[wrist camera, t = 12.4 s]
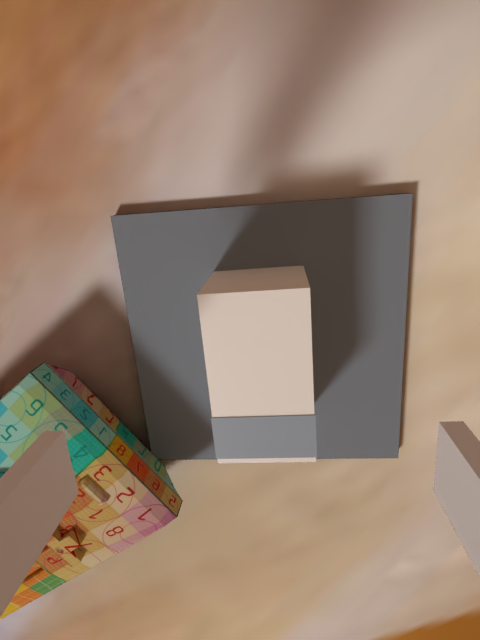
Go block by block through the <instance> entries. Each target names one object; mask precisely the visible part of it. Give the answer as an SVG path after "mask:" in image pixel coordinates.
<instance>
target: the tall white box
mask: <svg viewBox="0 0 480 640" xmlns="http://www.w3.org/2000/svg"><path fill="white" fill-rule="evenodd" d="M197 300H198V308H199V317H200V325H201V333H202V341H203V349H204V357H205V365H206V373H207V381H208V389H209V397H210V405H211V413H212V416H211V423H212V430H213V438H214V446H215V454H216V459H217V461H218V463H271V462H316V457H317V442H316V415H315V413H314V386H313V357H312V328H311V298H310V286H309V282H308V279H307V276H306V272H305V269H304V266H303V265H302V266H287V267H272V268H258V269H243V270H229V271H214V272H213V273H212V274H211V276H210V277H209V279H208V280H207V281H206V283H205V284H204V286H203V287H202V288H201V290H200V291H199V292H198V294H197Z"/></svg>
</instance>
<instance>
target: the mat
mask: <svg viewBox="0 0 480 640" xmlns="http://www.w3.org/2000/svg"><path fill="white" fill-rule="evenodd" d="M412 199H413V193H405V194H392V195H378V196H365V197H352V198H338V199H325V200H312V201H298V202H285V203H272V204H258V205H245V206H232V207H218V208H205V209H191V210H178V211H165V212H151V213H138V214H125V215H114V216H111V221H112V227H113V232H114V238H115V244H116V250H117V256H118V262H119V267H120V273H121V279H122V285H123V291H124V297H125V302H126V308H127V314H128V320H129V326H130V332H131V337H132V343H133V349H134V355H135V361H136V367H137V372H138V378H139V384H140V390H141V396H142V402H143V407H144V413H145V419H146V425H147V431H148V437H149V442H150V448H151V453H152V454H153V455H154V456H155V457H156V458H157V459H158V460H187V459H216V454H215V446H214V438H213V430H212V423H211V416H212V413H211V405H210V397H209V389H208V381H207V373H206V365H205V357H204V349H203V341H202V333H201V325H200V317H199V308H198V300H197V294H198V292H199V291H200V290H201V288H202V287H203V286H204V284H205V283H206V281H207V280H208V279H209V277H210V276H211V274H212V273H213V272H214V271H229V270H243V269H258V268H272V267H287V266H302V265H303V266H304V269H305V272H306V276H307V279H308V282H309V286H310V298H311V328H312V357H313V386H314V413H315V415H316V442H317V457H316V459H340V458H398V453H399V435H400V417H401V398H402V380H403V362H404V344H405V326H406V308H407V290H408V271H409V253H410V235H411V217H412Z"/></svg>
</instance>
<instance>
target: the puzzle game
mask: <svg viewBox="0 0 480 640" xmlns="http://www.w3.org/2000/svg"><path fill="white" fill-rule="evenodd" d="M44 431H64V434H65V438H66V442H67V447H68V451H69V455H70V459H71V463H72V467H73V471H74V475H75V479H76V483H77V488H78V492H79V493H78V495H77V496H76V498H75V499H74V501H73V503H72V504H71V506H70V507H69V509H68V511H67V512H66V514H65V515H64V517H63V519H62V520H61V522H60V523H59V525H58V527H57V528H56V530H55V531H54V533H53V535H52V536H51V538H50V539H49V541H48V542H47V544H46V546H45V547H44V549H43V550H42V552H41V554H40V555H39V557H38V558H37V560H36V562H35V563H34V565H33V566H32V568H31V570H30V571H29V573H28V574H27V576H26V578H25V579H24V581H23V582H22V584H21V586H20V587H19V589H18V590H17V592H16V593H15V595H14V597H13V598H12V600H11V601H10V603H9V605H8V606H7V608H6V609H5V611H4V613H3V614H2V616H1V617H0V619H2V618H4V617H6V616H7V615H9V614H11V613H12V612H14V611H16V610H18V609H19V608H21V607H23V606H24V605H26V604H28V603H30V602H31V601H33V600H35V599H37V598H39V597H40V596H42V595H44V594H46V593H47V592H49V591H51V590H53V589H54V588H56V587H58V586H60V585H62V584H63V583H65V582H67V581H69V580H70V579H72V578H74V577H76V576H77V575H79V574H81V573H83V572H84V571H86V570H88V569H90V568H92V567H93V566H95V565H97V564H99V563H100V562H102V561H104V560H106V559H107V558H109V557H111V556H113V555H114V554H116V553H118V552H120V551H122V550H123V549H125V548H127V547H129V546H130V545H132V544H134V543H136V542H137V541H139V540H141V539H143V538H145V537H146V536H148V535H150V534H152V533H153V532H155V531H157V530H159V529H160V528H162V527H164V526H165V525H167V524H168V523H169V522H171V521H172V520H173V519H175V518H176V517H177V516H178V513H179V510H180V507H181V504H182V499H181V498H180V496H179V495H178V493H177V491H176V490H175V488H174V486H173V484H172V482H171V479H170V477H169V475H168V473H167V471H166V469H165V466H164V465H163V464H162V463H161V462H160V461H159V460H158V459H157V458H156V457H155V456H154V455H153V454H152V453H151V452H150V451H149V450H148V449H147V448H146V447H145V446H144V445H143V444H142V443H141V442H140V441H139V440H138V439H137V438H136V437H135V436H134V435H133V434H132V433H131V432H130V431H129V430H128V429H127V428H126V427H125V426H124V425H123V424H122V423H121V422H120V421H119V420H118V419H117V418H116V417H115V416H114V415H113V414H112V413H111V411H110V410H109V409H108V408H107V407H106V406H105V405H104V404H103V403H102V402H101V401H100V400H99V399H98V398H97V397H96V396H95V395H94V394H93V393H92V392H91V391H90V390H89V389H88V388H87V387H86V386H85V385H84V384H83V383H82V382H81V381H80V380H79V379H78V378H77V377H76V376H75V375H74V374H73V373H72V372H70V371H67V370H64V369H61V368H58V367H55V366H52V365H50V364H47V363H45V362H43V363H42V364H41V365H39V366H38V367H37V368H35V369H34V370H33V371H31V372H30V373H29V374H28V375H27V376H26V377H24V378H23V379H22V380H21V381H20V382H19V383H18V384H16V385H15V386H14V387H13V388H12V389H11V390H10V391H8V392H7V393H6V394H5V395H4V396H3V397H2V398H0V478H1V477H2V476H3V475H4V474H5V473H6V472H7V470H8V469H9V468H10V467H11V466H12V465H13V464H14V463H15V462H16V461H17V460H18V459H19V457H20V456H21V455H22V454H23V453H24V452H25V451H26V450H27V449H28V448H29V447H30V446H31V445H32V443H33V442H34V441H35V440H36V439H37V438H38V437H39V436H40V435H41V434H42V433H43V432H44Z"/></svg>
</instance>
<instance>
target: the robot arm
mask: <svg viewBox="0 0 480 640" xmlns="http://www.w3.org/2000/svg"><path fill="white" fill-rule="evenodd" d="M433 490H434V492H435V494H436V496H437V498H438V500H439V501H440V503H441V505H442V507H443V509H444V511H445V513H446V515H447V517H448V518H449V520H450V522H451V524H452V526H453V528H454V530H455V532H456V534H457V536H458V537H459V539H460V541H461V543H462V545H463V547H464V549H465V551H466V553H467V554H468V556H469V558H470V560H471V562H472V564H473V566H474V568H475V570H476V571H477V573H478V575H479V577H480V441H479V440H478V439H477V438H476V437H475V435H474V434H473V433H472V432H471V430H470V429H469V428H468V427H467V425H466V424H465V423H464V422H463V421H458V422H439V430H438V441H437V453H436V464H435V476H434V487H433ZM78 493H79V492H78V488H77V483H76V479H75V475H74V471H73V467H72V463H71V459H70V455H69V451H68V447H67V442H66V438H65V434H64V431H44V432H43V433H42V434H41V435H40V436H39V437H38V438H37V439H36V440H35V441H34V442H33V443H32V445H31V446H30V447H29V448H28V449H27V450H26V451H25V452H24V453H23V454H22V455H21V456H20V457H19V459H18V460H17V461H16V462H15V463H14V464H13V465H12V466H11V467H10V468H9V469H8V470H7V472H6V473H5V474H4V475H3V476H2V477H1V478H0V617H1V616H2V614H3V613H4V611H5V609H6V608H7V606H8V605H9V603H10V601H11V600H12V598H13V597H14V595H15V593H16V592H17V590H18V589H19V587H20V586H21V584H22V582H23V581H24V579H25V578H26V576H27V574H28V573H29V571H30V570H31V568H32V566H33V565H34V563H35V562H36V560H37V558H38V557H39V555H40V554H41V552H42V550H43V549H44V547H45V546H46V544H47V542H48V541H49V539H50V538H51V536H52V535H53V533H54V531H55V530H56V528H57V527H58V525H59V523H60V522H61V520H62V519H63V517H64V515H65V514H66V512H67V511H68V509H69V507H70V506H71V504H72V503H73V501H74V499H75V498H76V496H77V495H78Z"/></svg>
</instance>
